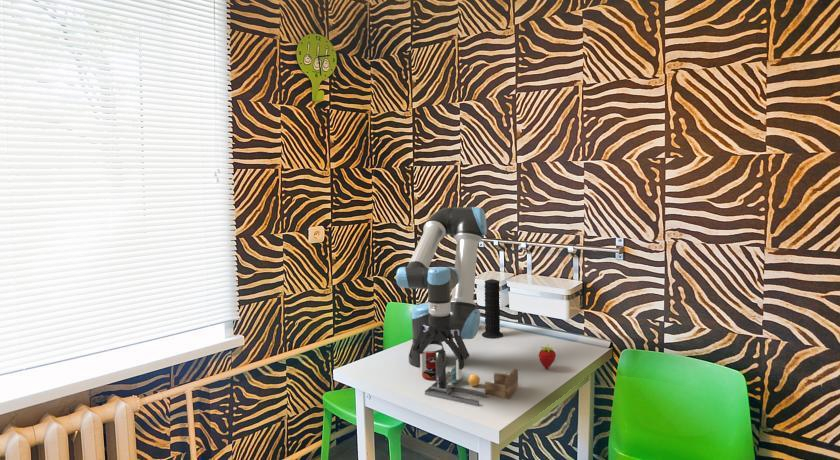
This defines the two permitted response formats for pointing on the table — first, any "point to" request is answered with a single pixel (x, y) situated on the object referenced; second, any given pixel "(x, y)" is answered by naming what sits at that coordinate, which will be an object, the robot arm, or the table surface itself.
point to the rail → (456, 398)
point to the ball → (474, 380)
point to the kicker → (443, 374)
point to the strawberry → (547, 356)
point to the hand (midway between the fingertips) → (440, 374)
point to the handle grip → (492, 310)
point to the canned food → (431, 361)
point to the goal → (503, 385)
